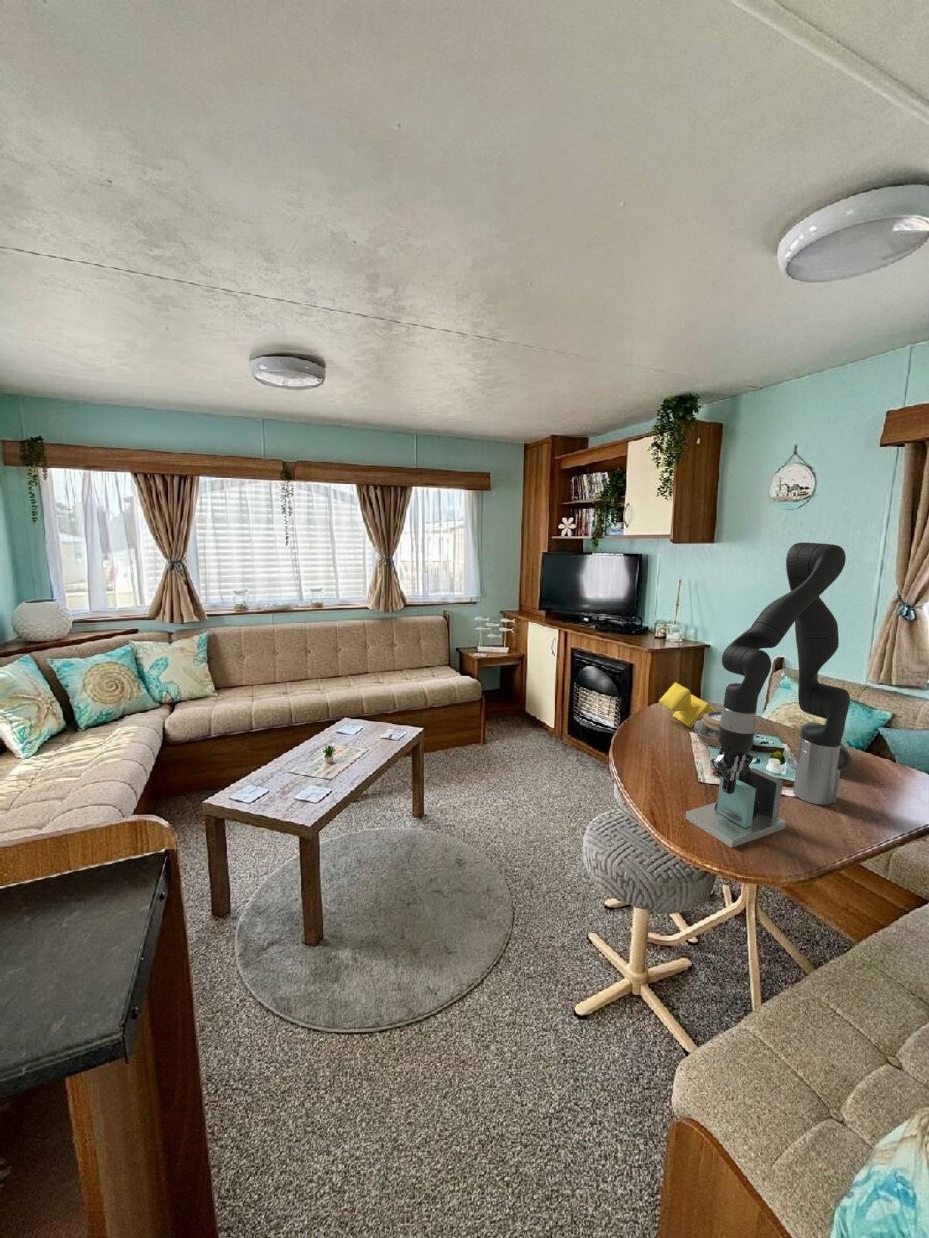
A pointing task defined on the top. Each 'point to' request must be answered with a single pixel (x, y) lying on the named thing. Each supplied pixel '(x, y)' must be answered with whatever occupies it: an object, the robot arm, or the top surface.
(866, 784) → the top surface
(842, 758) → the bluetooth speaker
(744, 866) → the top surface
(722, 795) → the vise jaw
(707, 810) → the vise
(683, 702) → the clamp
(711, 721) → the alarm clock
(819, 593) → the robot arm
